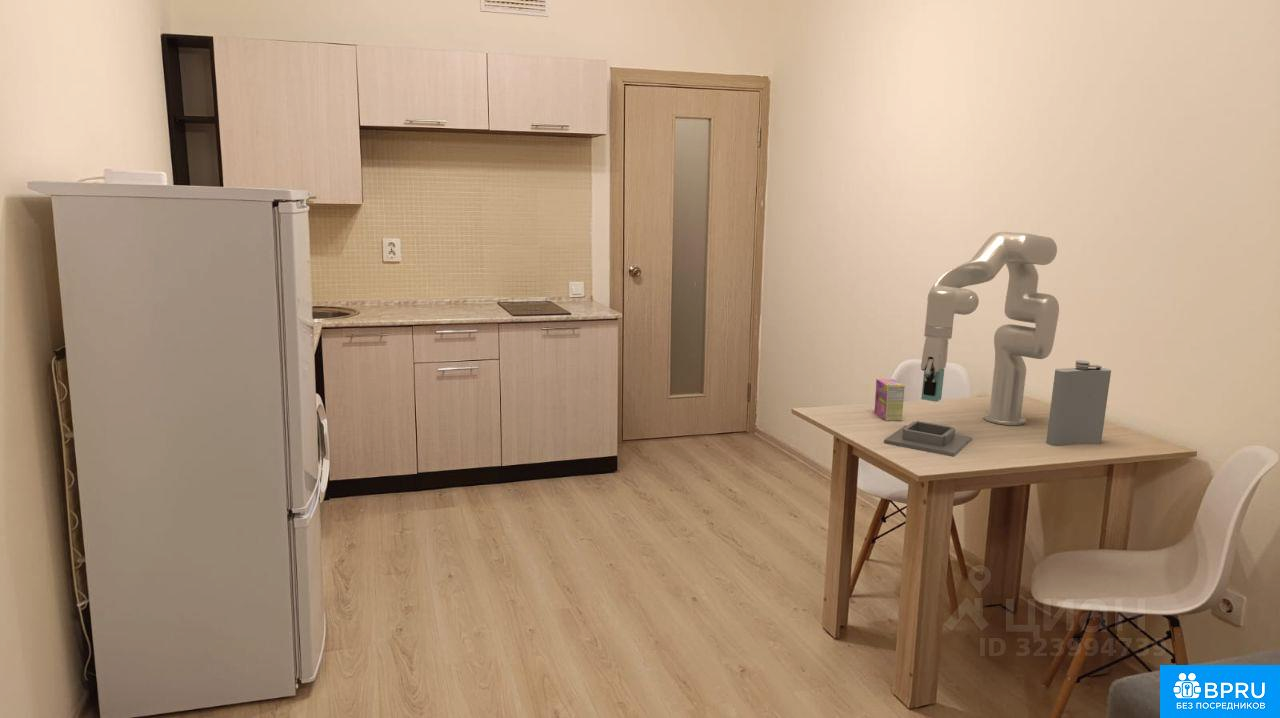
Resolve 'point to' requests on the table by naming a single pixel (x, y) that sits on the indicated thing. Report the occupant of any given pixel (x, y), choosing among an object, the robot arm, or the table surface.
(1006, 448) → the table surface
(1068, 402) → the flask
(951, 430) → the well
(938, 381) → the block
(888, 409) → the box
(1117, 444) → the table surface
